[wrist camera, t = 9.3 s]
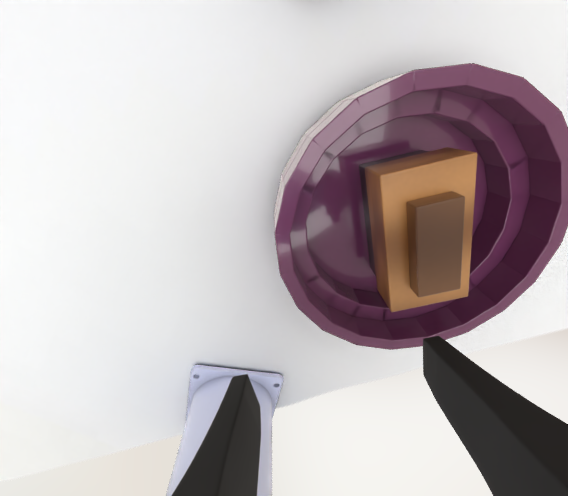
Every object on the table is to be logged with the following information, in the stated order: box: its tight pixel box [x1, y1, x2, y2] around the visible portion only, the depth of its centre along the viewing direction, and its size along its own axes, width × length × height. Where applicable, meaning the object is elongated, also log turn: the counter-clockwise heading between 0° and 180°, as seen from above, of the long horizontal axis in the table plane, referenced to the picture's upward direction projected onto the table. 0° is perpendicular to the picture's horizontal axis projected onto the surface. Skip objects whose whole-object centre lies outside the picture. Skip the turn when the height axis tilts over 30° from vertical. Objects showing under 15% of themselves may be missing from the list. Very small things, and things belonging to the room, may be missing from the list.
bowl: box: [274, 63, 568, 350], centre depth 17 cm, size 16×16×4 cm
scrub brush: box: [359, 147, 477, 312], centre depth 16 cm, size 8×4×6 cm, turn 13°
